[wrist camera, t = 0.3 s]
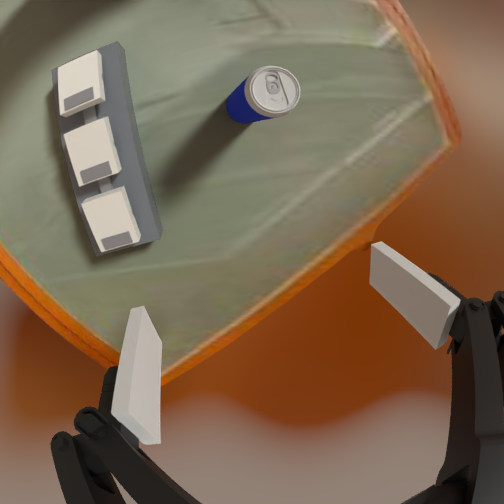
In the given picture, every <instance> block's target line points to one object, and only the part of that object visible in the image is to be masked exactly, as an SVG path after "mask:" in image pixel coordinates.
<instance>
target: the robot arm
mask: <svg viewBox="0 0 504 504" xmlns="http://www.w3.org/2000/svg"><path fill="white" fill-rule="evenodd" d="M370 266H371V268H370V284H371V285H372V286H373V287H374V288H375V289H376V290H377V291H378V292H379V293H380V294H381V295H382V296H383V297H384V298H385V299H386V300H387V301H388V302H389V303H391V305H392V306H393V307H394V308H396V310H397V311H399V312H400V314H402V316H404V318H405V319H407V321H408V322H409V323H411V325H412V326H413V327H414V328H415V329H416V330H417V331H418V332H419V333H420V334H421V335H422V336H423V337H424V338H425V339H426V340H427V341H428V342H429V343H430V344H431V345H432V346H433V348H435V350H436V349H437V348H439V347H440V346H442V345H444V344H445V343H446V341H447V338H448V336H449V335H450V336H451V337H452V341H451V343H450V346H449V348H448V350H447V354H449V352H450V350H451V352H452V353H451V354H452V401H451V417H450V428H449V437H448V444H447V451H446V457H445V461H444V464H443V466H442V468H441V470H440V471H439V474H438V477H437V480H436V484H435V485H432V486H431V487H429V488H427V489H426V490H424V491H422V492H420V493H419V494H417V495H415V496H413V497H411V498H410V499H408V500H406V501H405V502H403V503H401V504H504V409H503V406H504V334H503V335H502V333H501V330H502V328H504V291H498V292H496V293H495V294H494V296H493V299H492V300H491V301H488V302H483V301H482V300H480V299H478V298H469V299H467V298H465V297H464V296H463V295H461V294H460V293H459V292H458V291H456V290H455V289H454V288H453V287H451V286H449V284H447V283H446V282H444V281H443V280H442V279H441V278H439V277H438V276H436V275H434V274H431V273H425V272H424V271H423V270H421V269H419V268H418V267H417V266H416V265H414V264H413V263H411V262H410V261H408V260H407V259H406V258H405V257H403V256H402V255H400V254H399V253H397V252H395V250H393V249H392V248H390V247H389V246H387V245H386V244H384V243H383V242H378V243H375V244H371V265H370ZM161 354H162V342H161V340H160V338H159V336H158V334H157V332H156V330H155V328H154V326H153V324H152V322H151V320H150V318H149V316H148V314H147V312H146V309H145V307H144V306H141V307H137V308H133V309H131V311H130V315H129V320H128V324H127V328H126V332H125V337H124V341H123V346H122V351H121V356H120V361H119V366H113V367H110V368H109V369H108V371H107V373H106V374H105V376H104V381H103V386H102V393H101V397H100V402H99V408H98V410H97V409H96V408H94V407H85V408H84V409H81V410H80V411H79V412H78V413H77V415H76V417H75V419H74V426H75V429H76V430H77V431H79V432H80V433H81V434H78V435H76V436H73V437H72V436H71V435H70V434H69V433H67V432H64V431H62V432H58V433H57V434H55V435H54V437H53V438H52V441H51V451H52V456H53V460H54V464H55V468H56V471H57V475H58V479H59V482H60V485H61V489H62V492H63V494H64V498H65V500H66V503H67V504H126V503H125V501H124V499H123V497H122V495H121V493H120V491H119V489H118V487H117V485H116V483H115V481H114V479H113V477H112V475H111V473H112V474H113V475H114V477H115V478H116V479H117V480H118V482H119V483H120V484H121V485H122V486H123V488H124V489H125V490H126V491H127V492H128V493H129V495H130V496H131V497H132V498H133V499H134V500H135V501H136V502H137V503H138V504H201V503H200V502H199V501H198V500H196V499H195V498H194V497H192V496H191V495H190V494H188V493H187V492H186V491H185V490H184V489H183V488H182V487H180V486H179V485H178V484H177V483H176V482H175V481H174V480H172V479H171V478H170V477H169V476H168V475H167V474H166V473H165V472H164V471H163V470H161V469H160V468H159V467H158V466H157V465H156V464H155V463H154V462H153V461H152V460H151V459H150V458H149V457H148V456H147V455H146V454H145V453H144V452H143V450H141V449H140V448H139V442H138V441H139V440H140V441H141V442H142V443H143V444H145V445H148V444H160V443H161V440H160V439H161V438H160V380H161Z"/></svg>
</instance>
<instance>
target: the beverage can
mask: <svg viewBox="0 0 504 504" xmlns="http://www.w3.org/2000/svg"><path fill="white" fill-rule="evenodd" d="M299 97H300V86H299V83H298V81H297V79H296V78H295V76H294V75H293V74H292V73H290V72H289V71H287V70H286V69H284V68H281V67H276V66H264V67H261V68H258V69H256V70H255V71H253V72H252V73H251V74H250V75H249V76H248V77H247V78H246V79H245V80H244V81H243V82H242V83H241V84H240V85H239V86H238V87H237V88H236V89H235V90H234V91H233V92H232V93H231V94H230V96H229V97H228V99H227V102H226V109H227V112H228V114H229V116H230V117H231V118H232V119H233V120H235V121H237V122H239V123H251V122H256V121H260V120H265V119H271V118H276V117H281V116H284V115H286V114H288V113H289V112H291V111H292V110H293V109H294V107H295V106H296V104H297V102H298V100H299Z"/></svg>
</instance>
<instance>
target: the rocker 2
mask: <svg viewBox="0 0 504 504" xmlns="http://www.w3.org/2000/svg"><path fill="white" fill-rule="evenodd" d="M64 138H65V142H66V146H67V149H68V153H69V156H70V159H71V163H72V166H73V169H74V172H75V175H76V178H77V181H78V184H79V187H80V186H83V185H85V184H88V183H91V182H93V181H96V180H99V179H102V178H104V177H107V176H110V175H113V174H116V173H119V172H120V170H121V169H122V168H121V164H120V161H119V157H118V154H117V150H116V142H115V140H114V139H113V135H112V131H111V126H110V122H109V118H108V117H104V118H101V119H99V120H96V121H94V122H91V123H89V124H86V125H84V126H81V127H79V128H77V129H74V130H72V131H70V132H68V133H66V134H64Z"/></svg>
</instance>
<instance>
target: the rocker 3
mask: <svg viewBox="0 0 504 504" xmlns="http://www.w3.org/2000/svg"><path fill="white" fill-rule="evenodd" d="M81 205H82V208H83V210H84V213H85V215H86V218H87V220H88V223H89V225H90V228H91V230H92V232H93V235H94V237H95V239H96V242H97V244H98V246H99V248H100V250H101V252H104V251H107V250H111V249H114V248H118V247H121V246H125V245H129V244H132V243H136V242H139V240H140V236H141V234H140V231H139V228H138V226H137V223H136V220H135V217H134V211H133V208H132V207H131V206H130V203H129V200H128V197H127V193H126V190H125V187H124V186H122V187H119V188H116V189H113V190H110V191H107V192H104V193H101V194H98V195H95V196H92V197H90V198H87V199H85V200H84V201H83V203H82V204H81Z"/></svg>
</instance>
